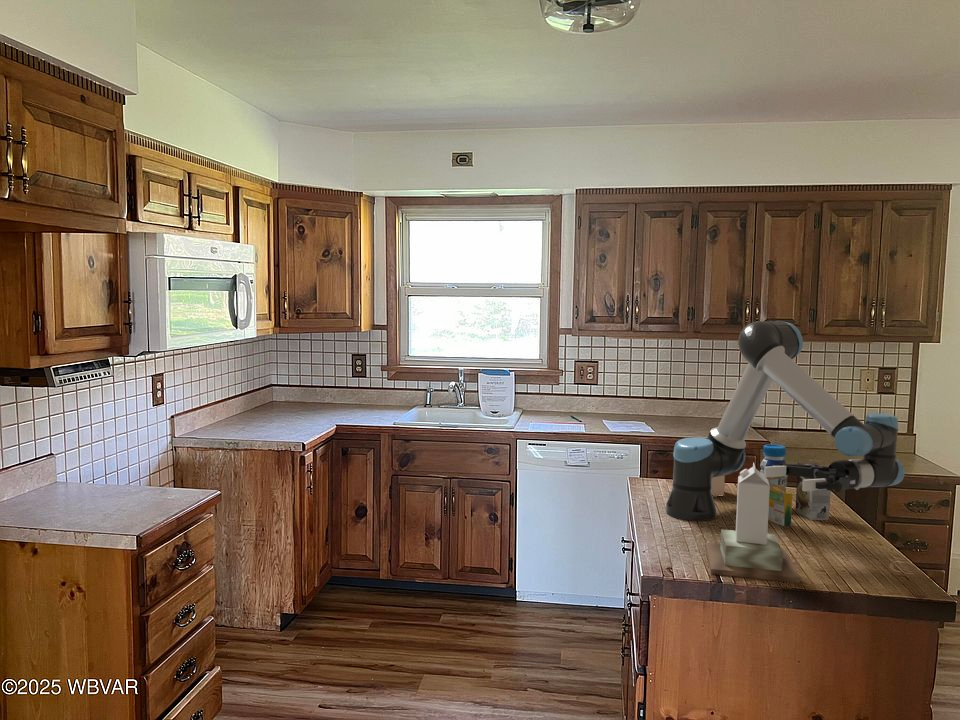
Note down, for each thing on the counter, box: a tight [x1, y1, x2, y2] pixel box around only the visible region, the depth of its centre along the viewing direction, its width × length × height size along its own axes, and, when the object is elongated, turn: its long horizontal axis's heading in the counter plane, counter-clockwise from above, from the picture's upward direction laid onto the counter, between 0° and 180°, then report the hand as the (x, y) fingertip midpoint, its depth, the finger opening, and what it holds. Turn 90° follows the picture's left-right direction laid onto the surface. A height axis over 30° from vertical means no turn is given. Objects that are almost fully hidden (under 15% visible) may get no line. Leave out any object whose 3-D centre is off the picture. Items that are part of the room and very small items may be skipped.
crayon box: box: [768, 483, 793, 527], centre depth 209 cm, size 7×3×12 cm, turn 20°
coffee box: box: [795, 461, 832, 521], centre depth 216 cm, size 9×6×16 cm
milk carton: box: [735, 462, 770, 545], centre depth 173 cm, size 7×7×19 cm
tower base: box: [704, 529, 801, 584], centre depth 174 cm, size 20×20×6 cm
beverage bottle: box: [759, 443, 788, 490], centre depth 227 cm, size 8×8×20 cm
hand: (783, 478), depth 175 cm, fingers open, 13 cm apart
